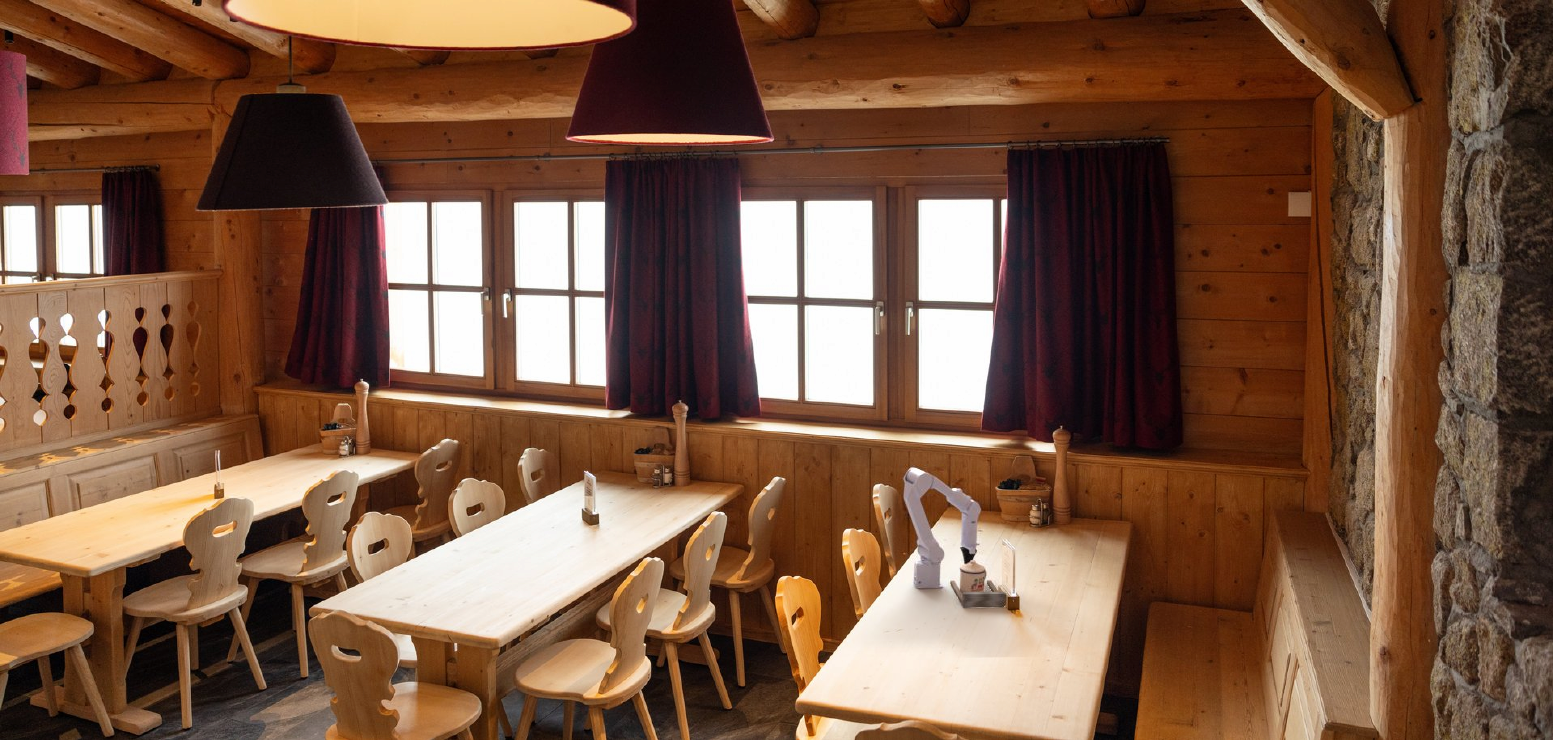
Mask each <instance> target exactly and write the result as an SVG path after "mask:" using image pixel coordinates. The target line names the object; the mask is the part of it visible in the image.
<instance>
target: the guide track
mask: <svg viewBox="0 0 1553 740" xmlns="http://www.w3.org/2000/svg"><path fill="white" fill-rule="evenodd" d="M950 584H951V585H950ZM949 585H950V586H951V588H952V590H953V592H954V594H955V596H956V598H957V597H958V598H957V599H958V601H959V603H960V605H961V607H962V606H963V607H962V608H963V609H972V608H971V607H1004V606H1005V605H1006V606H1007V595H1006V594H1007V592H1006V591H999V590H998V589H997V587H996V586H995V584H994V583H993V581H992V579H991V580H989V579H987V580H986V585H987V587H988V586H989V587H988V588H989V590H990V589H991V590H990V591H984V592H962V593H961V591H960V587H959V586H958V585H957V583H956V581H955V580H950V583H949ZM991 591H992V592H991ZM1005 592H1006V593H1005ZM969 607H970V608H969Z"/></svg>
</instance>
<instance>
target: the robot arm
mask: <svg viewBox="0 0 1553 740" xmlns="http://www.w3.org/2000/svg"><path fill="white" fill-rule="evenodd" d="M903 482H904V487H903V489H904V490H903V500H904V503H905V505H906V508H907V511H908V514H909V516H910V519H911V522H912V524H913V527H914V530H915V533H916V535H917V540H916V543H917V549H916V550H917V554H918V556H920V560H917V561H914V563H913V565H914V566H913V583H914V586H915V587H916V588H917V589H933V588H934V589H942V588H943V584H942V583H941V563H942V561H943V560H944V559H945V551H944V549H943V548H942V546H940V544H939V542H938V540H937V539H936V538H935V537H934V535H933V532H932V529H931V526H930V524H929V520H928V519H927V515H926V513H925V510H924V507H923V505H922V502H921V498H922V497H923V496H924V495H925V494H926V492H927V491H928V490H929V489H935V490H937V491H938V492H940V493H941V494H943V495H944V496H945V497H946V501H947V502H948V503H950V504H951V505H952V506H954V507H955V508H957V509H958V510H959V512H961V525H960V526H961V530H960V532H961V533H960V547H959V549H960V551H961V553H962V558H963V565H964V564H967V563H970V561H971V560H974V558H975V556H976V554H977V553H978V550H977V546H980V545H981V544H980V542H979V541H977V537H978V520H979V516H980V514H981V511H982V508H981V505H980V503H979V502H977V501H976V500H973V499H972V497H971V496H970V495H966V494H965V493H964V492H963V489H961V488H950V486H948V485H946V483H944V482H943V481H942V480H940V479H939V478H938V477H936V476H934V475H932V474H930V473H929V472H925V471H924V470H921V469H919V468H917V467H910V468H909V469H908V470H907V471H906V473H905V475H904V477H903Z"/></svg>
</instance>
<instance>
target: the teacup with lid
mask: <svg viewBox="0 0 1553 740" xmlns="http://www.w3.org/2000/svg"><path fill="white" fill-rule="evenodd" d="M959 570H960V573H959V574H960V575H959V590H960V591H961V593H962V592H985V580H986V579H987V574H988V573H987V570H986V568H985V566H984V565H981V564H978V563H977V562H976V560H974V559H973V560H971V561H970V563H967V564H964V563H963V564H962V565H960V567H959Z"/></svg>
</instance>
